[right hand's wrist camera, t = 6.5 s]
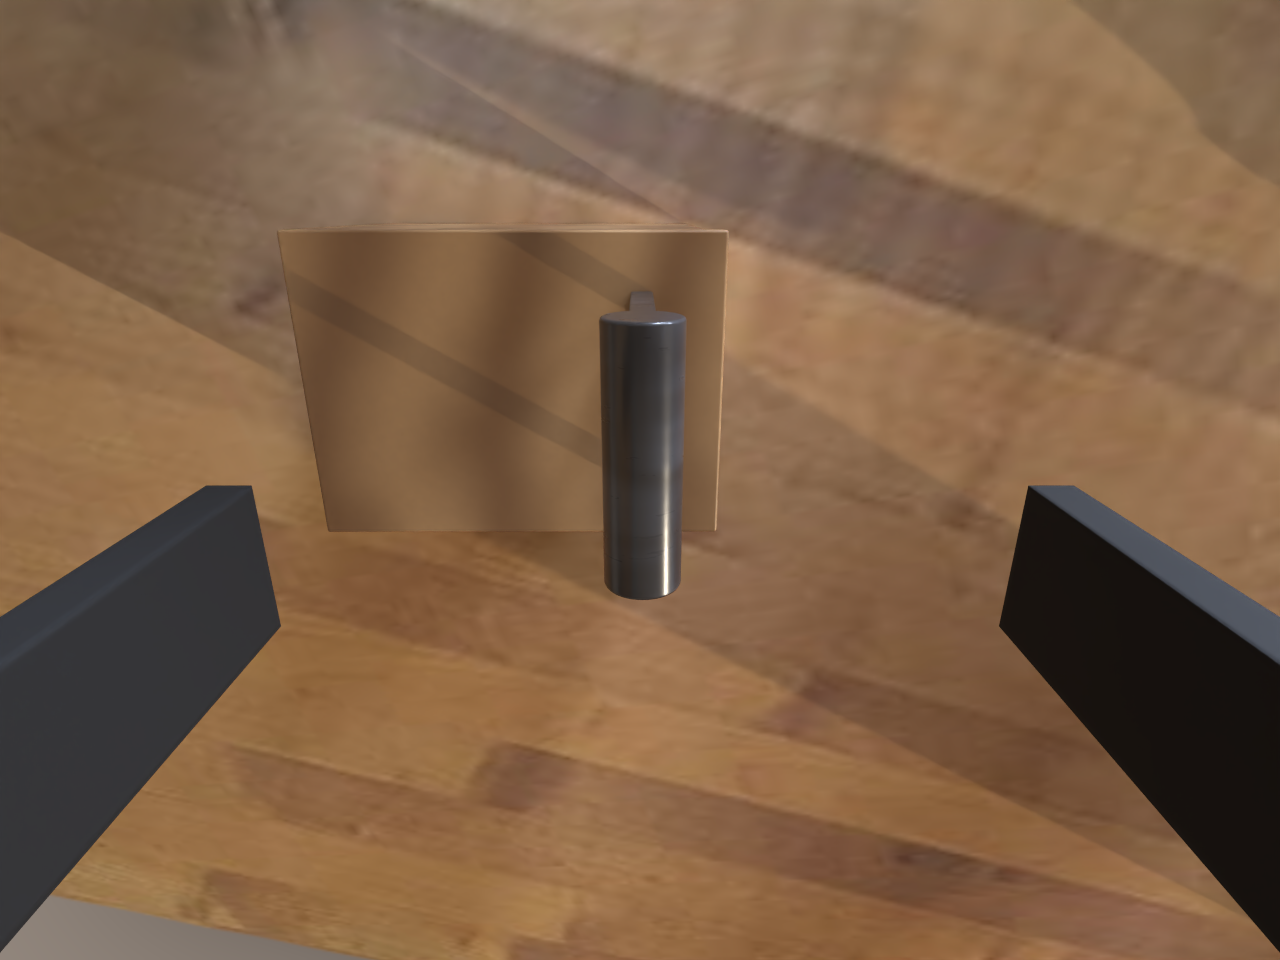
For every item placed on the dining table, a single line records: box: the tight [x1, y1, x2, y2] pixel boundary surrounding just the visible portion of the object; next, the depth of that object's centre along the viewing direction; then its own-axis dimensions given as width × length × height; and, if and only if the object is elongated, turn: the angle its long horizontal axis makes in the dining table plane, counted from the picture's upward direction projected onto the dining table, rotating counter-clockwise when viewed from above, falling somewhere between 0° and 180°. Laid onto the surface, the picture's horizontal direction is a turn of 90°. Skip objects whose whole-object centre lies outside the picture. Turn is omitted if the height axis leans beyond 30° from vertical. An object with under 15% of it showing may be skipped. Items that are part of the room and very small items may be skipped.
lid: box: [277, 229, 729, 600], centre depth 20 cm, size 14×10×8 cm
